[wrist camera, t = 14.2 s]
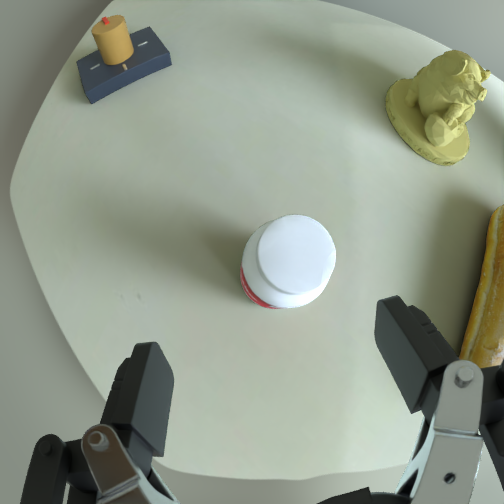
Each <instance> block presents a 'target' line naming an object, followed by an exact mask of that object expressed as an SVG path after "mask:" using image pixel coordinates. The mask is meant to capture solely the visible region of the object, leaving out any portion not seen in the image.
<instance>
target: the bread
mask: <svg viewBox="0 0 504 504" xmlns="http://www.w3.org/2000/svg"><path fill="white" fill-rule="evenodd" d="M459 359H460V360H467V361H471V362H473V363H475V364H476V365H477V366H478V367H479V368H485V367H491V366H497V365H501V363H502V361H503V359H504V205H502V206H500V207H498V208H497V209H496V210H495V211H494V212H493V214H492V216H491V218H490V222H489V225H488V231H487V237H486V252H485V255H484V261H483V264H482V270H481V277H480V281H479V285H478V288H477V292H476V295H475V299H474V303H473V307H472V312H471V315H470V318H469V322H468V325H467V329H466V332H465V335H464V341H463V344H462V347H461V353H460V356H459Z"/></svg>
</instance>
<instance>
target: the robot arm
mask: <svg viewBox="0 0 504 504" xmlns="http://www.w3.org/2000/svg"><path fill="white" fill-rule="evenodd" d="M374 335H375V341H376V344H377V347H378V349H379V351H380V353H381V355H382V357H383V358H384V360H385V362H386V364H387V366H388V368H389V370H390V372H391V374H392V376H393V378H394V380H395V382H396V384H397V386H398V388H399V390H400V392H401V394H402V396H403V398H404V400H405V402H406V404H407V406H408V408H409V410H410V412H411V414H412V413H415V412H417V411H420V410H422V412H423V414H424V417H423V420H422V423H421V427H420V430H419V433H418V437H417V440H416V443H415V446H414V449H413V452H412V455H411V457H410V460H409V463H408V465H407V467H406V470H405V471H404V473H403V475H402V477H401V479H400V481H399V483H398V486H397V488H396V490H395V493H386V492H372V493H370V490H369V487H366V488H363V489H360V490H356V491H353V492H350V493H346V494H342V495H338V496H334V497H331V498H329V499H326V500H324V501H322V502H320V503H317V504H469V502H470V498H471V495H472V491H473V488H474V484H475V480H476V476H477V472H478V468H479V463H480V459H481V454H482V448H483V440H484V442H485V445H486V447H487V449H488V452H489V454H490V456H491V459H492V461H493V464H494V466H495V469H496V471H497V474H498V476H499V479H500V482H501V485H502V488H503V491H504V359H503V361H502V363H501V365H497V366H491V367H485V368H479V367H478V366H477V365H476V364H475V363H473V362H471V361H467V360H460V359H459V358H458V356H457V355H456V353H455V352H454V351H453V349H452V348H451V347H450V345H449V344H448V343H447V341H446V340H445V339H444V337H443V336H442V335H441V333H440V332H439V331H437V328H436V327H435V325H434V324H433V323H431V320H430V319H429V318H428V316H427V315H426V314H425V313H424V312H423V311H422V310H420V309H418V308H417V307H415V306H413V305H411V306H408V307H407V305H406V304H405V303H404V301H403V300H402V299H401V298H400V297H399V296H398V295H396V296H392V297H389V298H385V299H381V300H378V302H377V308H376V320H375V331H374ZM114 380H115V381H113V384H112V387H111V389H112V390H110V393H109V396H108V399H107V402H106V406H105V409H104V412H103V415H102V418H101V421H100V424H98V425H95V426H92V427H91V428H90V429H88V430H87V431H86V432H85V434H84V436H83V437H82V439H78V440H73V441H68V442H63V441H62V440H61V439H60V438H59V437H57V436H56V435H53V434H48V435H45V436H43V437H42V438H40V439H39V441H38V442H37V443H36V445H35V448H34V452H33V455H32V458H31V462H30V465H29V469H28V472H27V476H26V480H25V484H24V488H23V493H22V498H21V502H20V504H62V503H63V497H64V491H65V486H66V483H68V484H69V485H70V489H69V494H68V500H67V504H181V503H180V502H179V501H178V500H177V499H176V498H175V496H174V495H173V493H172V492H171V491H170V490H169V488H168V487H167V485H166V484H165V483H164V481H163V480H162V478H161V477H160V475H159V474H158V473H157V471H156V470H155V468H154V467H153V465H152V464H151V462H152V456H154V457H163V456H164V448H165V440H166V433H167V426H168V419H169V412H170V406H171V399H172V393H173V387H174V376H173V372H172V369H171V367H170V365H169V363H168V361H167V360H166V358H165V356H164V354H163V352H162V350H161V348H160V346H159V345H158V343H157V342H146V343H137V344H136V345H135V346H134V349H133V352H132V355H131V358H126V359H125V360H124V361H123V363H122V364H121V365H120V366H119V368H118V370H117V373H116V376H115V379H114ZM478 429H479V431H480V433H481V435H479V434H478Z"/></svg>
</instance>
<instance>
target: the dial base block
mask: <svg viewBox="0 0 504 504" xmlns="http://www.w3.org/2000/svg"><path fill="white" fill-rule="evenodd" d="M130 39H131V42H132V45H133V48H134V52H133V54H132V55H131V56H130V57H129V58H128V59H127V60H125V61H124V62H122V63H119V64H116V65H107V64H105V63H104V61H103V58H102V56H101V54H100V51H99V50H97V51H95V52H93V53H91V54H89V55H87V56H85V57H84V58H82V59H80V60H78V61H77V66H78V70H79V74H80V77H81V81H82V84H83V88H84V91H85V94H86V96H87V97H88V99H89V101H90V103H91V104H93V103H95V102H96V101H98V100H100V99H102V98H103V97H105V96H107V95H109V94H111V93H113V92H114V91H116V90H118V89H120V88H122V87H124V86H126V85H128V84H130V83H132V82H134V81H136V80H138V79H140V78H143V77H145V76H147V75H149V74H151V73H154V72H156V71H158V70H160V69H163V68H165V67H168V66H170V65H172V63H171V58H170V53H169V51H168V50H167V48H166V47H165V46H164V45H163V43H162V42H161V41H160V39H159V38H158V37H157V35H156V34H155V33H154V31H153V30H152V29H151V28H150V27H147V28H144V29H142V30H140V31H137V32H135V33H132V34H130Z"/></svg>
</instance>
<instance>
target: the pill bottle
mask: <svg viewBox="0 0 504 504" xmlns="http://www.w3.org/2000/svg"><path fill="white" fill-rule="evenodd" d="M335 259H336V252H335V246H334V243H333V240H332V238H331V236H330V234H329V233H328V231H327V230H326V229H325V228H324V227H323V225H321V224H320V223H319V222H318V221H316V220H314V219H312V218H310V217H308V216H304V215H298V214H292V215H286V216H283V217H280V218H278V219H276V220H272V221H270V222H267V223H265V224H264V225H262V226H261V227H259V228H258V229H257V230H256V231H255V232H254V233H253V234H252V235H251V237H250V238H249V240H248V242H247V244H246V246H245V249H244V252H243V257H242V262H241V268H240V280H241V284H242V287H243V290H244V291H245V293H246V295H247V296H248V297H249V298H250V299H251V300H252V301H253V302H254V303H256V304H258V305H260V306H262V307H265V308H271V309H281V308H294V307H299V306H302V305H305V304H307V303H309V302H311V301H312V300H314V299H315V298H316V297H317V296H318V295H319V294H320V293H321V292H322V291H323V289H324V288H325V286H326V284H327V282H328V280H329V277H330V275H331V273H332V271H333V269H334V265H335Z"/></svg>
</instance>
